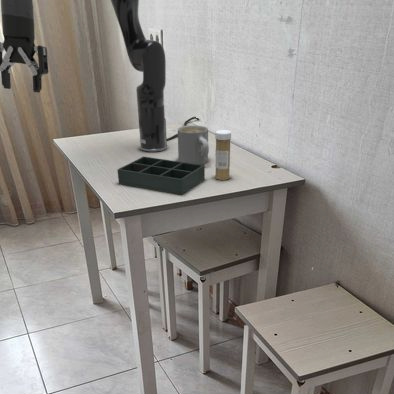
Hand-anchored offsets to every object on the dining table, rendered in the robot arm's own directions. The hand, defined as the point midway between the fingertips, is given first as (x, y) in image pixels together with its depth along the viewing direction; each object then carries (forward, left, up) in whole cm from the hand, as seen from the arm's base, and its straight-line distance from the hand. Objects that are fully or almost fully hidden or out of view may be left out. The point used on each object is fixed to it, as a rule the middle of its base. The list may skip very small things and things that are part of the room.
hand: (21, 90), depth 125 cm
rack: (-21, +29, -26) cm, 44 cm away
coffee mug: (-43, +29, -26) cm, 58 cm away
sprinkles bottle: (-32, +44, -26) cm, 60 cm away
